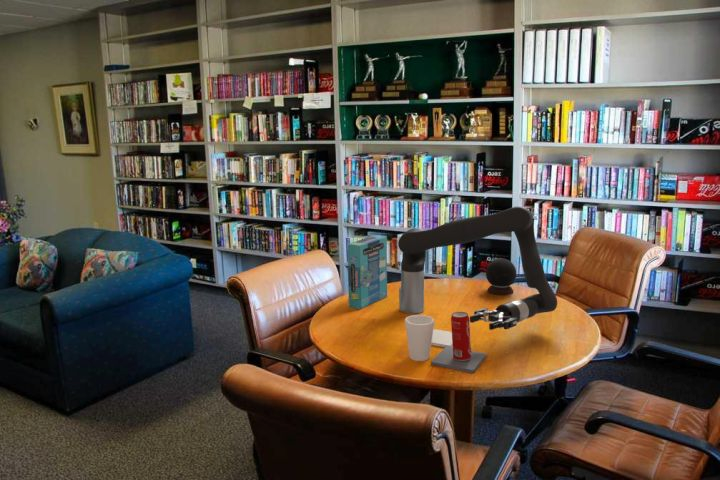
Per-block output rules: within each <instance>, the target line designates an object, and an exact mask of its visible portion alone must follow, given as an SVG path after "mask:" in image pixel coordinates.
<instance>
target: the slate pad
mask: <svg viewBox="0 0 720 480" xmlns="http://www.w3.org/2000/svg"><path fill="white" fill-rule="evenodd" d="M487 355H488V353H486V352H481V351H474V350H471V358H470V359H469V360H466V361H458V360H455V359H454V357H453V346H452V347H448V346H446V347H443V349H442V350H440V352H439V353H438V354H437V355H436V356H435V357H434V358H433V359H432V360H431V362H430V365H431V366H435V367H442V368H445V369H451V370H456V371H459V372H460V371H462V372H465V373H466V372H467V373H470V374H471V373H472V374H474V373H475V372H476V371H477V370H478V368H479V367H480V366H481V364H483V362H484V361H485V360H486V358H487V357H488V356H487Z"/></svg>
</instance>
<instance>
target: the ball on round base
mask: <svg viewBox="0 0 720 480" xmlns="http://www.w3.org/2000/svg"><path fill="white" fill-rule="evenodd" d="M516 269H517V268H516V266H515V265H514V264H513V262H511V261H510V260H509V259H506V258H503V257H502V258H501V257H499V258H496V259H493V260H491V261H490V262H489V263H488V264H487V267H486V269H485V277H486V279H487V280H486V281H487V282H488V283H489V284H490V285H489V287H488V288H487V293H489V294H492V295H495V296H509V295H512V294H514V289H513V287H512V285H513V283H515V281H516V278H517V270H516Z"/></svg>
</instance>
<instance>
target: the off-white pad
mask: <svg viewBox="0 0 720 480" xmlns="http://www.w3.org/2000/svg"><path fill="white" fill-rule="evenodd" d="M431 346H435V347H440V348H445V347H446V346H448V347H453V344H452V331H448V330H441V329H436V328H434V329H433V335H432V342H431Z"/></svg>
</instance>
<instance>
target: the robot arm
mask: <svg viewBox="0 0 720 480" xmlns="http://www.w3.org/2000/svg"><path fill="white" fill-rule="evenodd" d="M533 215H534V214H533V213H532V212H531V210H529V209H528V208H527V207H526V206H525V207H524V206H519V205H517V206H513V207H510V208H507V209H505V210H502V211H499V212H496V213H495V212H494V213H491V214H486V215H477V216H470V217H465V218H460V219H455V220H452V221H448V222H446V223H443V224H440V225H439V226H436V227H433V228H431V229H426V230H420V229H418V228H411V229H408V230H406V231H405V232H404V233H402V234H401V236H400V237H399V239H398V242H397V246H398V249H399V250H400V252H402V253H403V256H402V260H401V263H400V287H399V288H398V297H399V298H398V304H399V305H398V307H399V308H398V309H399V310H398V311H399V312H403V313H405V314H412V315H418V314H420V313H421V314H422V313H423V312H424V311H425V305H424V304H425V264H426V256H427V251H428V250H432V249H435V248H441V247H443V248H444V247H449V246H455V245H461V244H467V243H472V242H476V241H479V240H482V239H484V238H487V237H489V236H492V235H496V234H502V233H511V232H513V233H514V235H515V237H516V240H517V243H518V247H519V253H520V259H521V266H522V271H523V275H524V278H525V282H526V285H527V287H528V288H530V289H536V290H537V292H538V293H535V294H532V295H531V294H530V295H528V296H526V297H524V298H520V299H516V300H512V301H509V302H506V303H503V304H499V305H498V306H497V307H496V308H495V309H492V310H489V308H488V307H484V308H480V309H476V310H474V313H473V315H470V316H469V323H470V324H471V323H475V322H479V321H483V322H485V323H487V322H488V323H489V324H488V329H489V330H490V331H493V330H497V329H502V328H503V329H504V330H509V329H511V328H514V327H516V326H517V324H518V323H521V322H522V321H524V320H526V319H530V318H532V317H535V315H538V314H543V313H551V312H554V311H555V310H556V309H557V307H558V298H557V296H556V294H555V292H554V290H553V288H552V286H551V285H550V283H549V281H548V280H547V277H546V273H545V269H544V265H543V263H542V259H541V257H540V252H539V249H538V246H537V245H538V244H537V240H536V236H535V229H534V216H533Z"/></svg>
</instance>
